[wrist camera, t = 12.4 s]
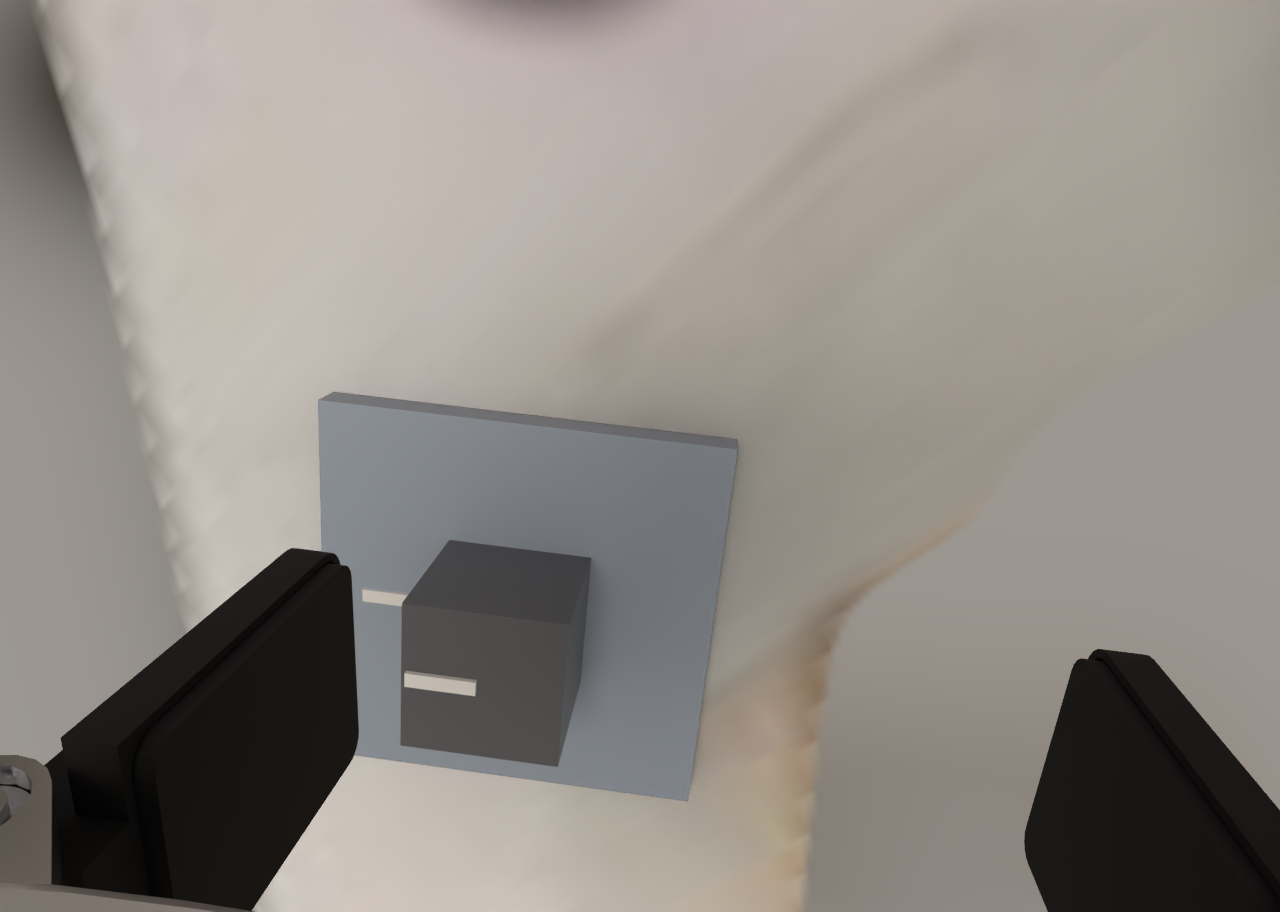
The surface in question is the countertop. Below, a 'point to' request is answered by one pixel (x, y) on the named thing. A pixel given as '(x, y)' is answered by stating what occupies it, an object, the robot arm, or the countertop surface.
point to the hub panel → (549, 522)
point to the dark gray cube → (493, 652)
